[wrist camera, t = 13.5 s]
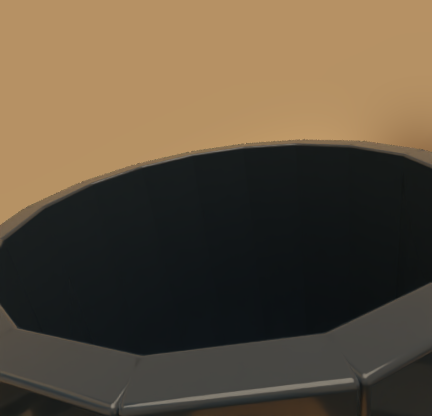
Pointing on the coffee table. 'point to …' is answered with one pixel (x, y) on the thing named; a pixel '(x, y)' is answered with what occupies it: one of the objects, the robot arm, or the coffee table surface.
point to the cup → (225, 287)
